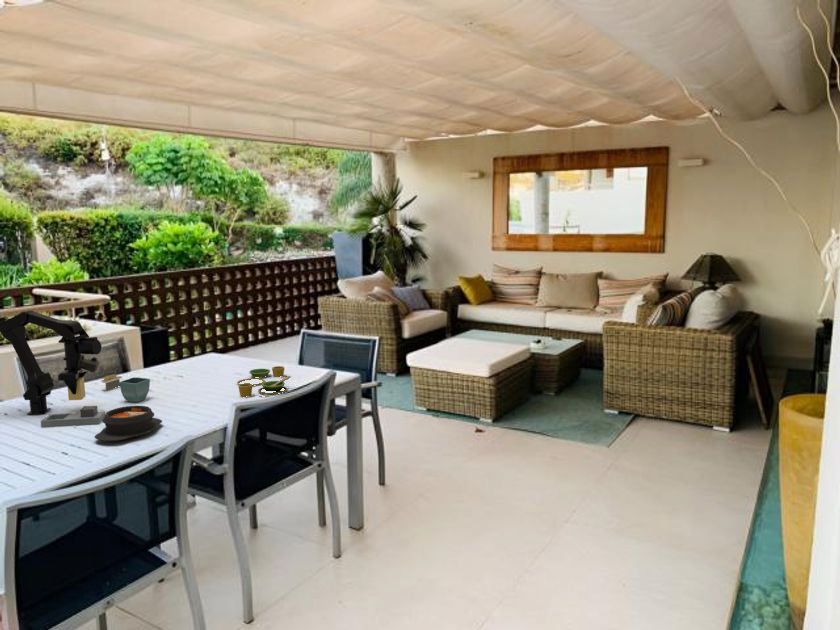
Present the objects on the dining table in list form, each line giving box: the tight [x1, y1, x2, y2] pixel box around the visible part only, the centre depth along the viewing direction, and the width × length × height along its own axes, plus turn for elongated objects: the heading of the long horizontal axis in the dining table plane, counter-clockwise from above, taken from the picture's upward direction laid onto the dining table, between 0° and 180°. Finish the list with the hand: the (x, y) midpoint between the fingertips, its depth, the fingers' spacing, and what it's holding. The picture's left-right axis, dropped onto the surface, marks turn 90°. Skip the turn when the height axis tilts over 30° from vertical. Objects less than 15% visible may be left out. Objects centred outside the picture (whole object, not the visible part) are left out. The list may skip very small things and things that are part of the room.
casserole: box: [94, 405, 163, 442], centre depth 223 cm, size 25×19×8 cm
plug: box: [67, 376, 86, 401], centre depth 244 cm, size 5×5×10 cm
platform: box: [101, 373, 123, 392], centre depth 282 cm, size 12×18×7 cm, turn 162°
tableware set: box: [236, 365, 291, 398], centre depth 288 cm, size 41×28×6 cm
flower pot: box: [119, 376, 151, 403], centre depth 263 cm, size 9×9×9 cm
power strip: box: [40, 405, 106, 428], centre depth 235 cm, size 8×20×6 cm, turn 101°
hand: (76, 392), depth 245 cm, fingers closed on plug, 5 cm apart
